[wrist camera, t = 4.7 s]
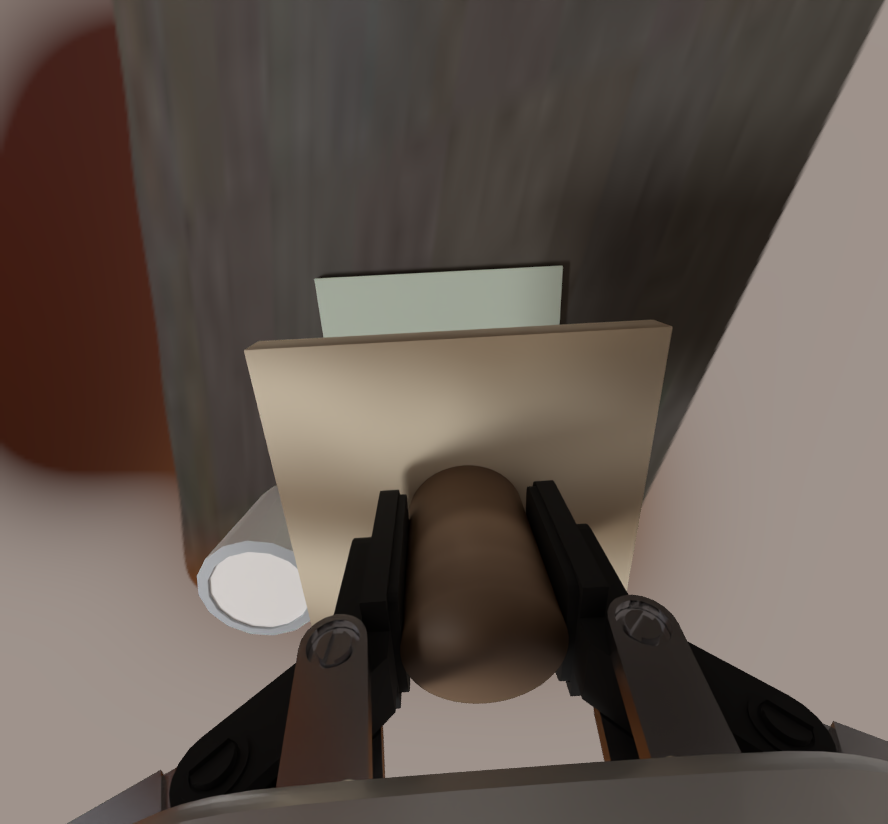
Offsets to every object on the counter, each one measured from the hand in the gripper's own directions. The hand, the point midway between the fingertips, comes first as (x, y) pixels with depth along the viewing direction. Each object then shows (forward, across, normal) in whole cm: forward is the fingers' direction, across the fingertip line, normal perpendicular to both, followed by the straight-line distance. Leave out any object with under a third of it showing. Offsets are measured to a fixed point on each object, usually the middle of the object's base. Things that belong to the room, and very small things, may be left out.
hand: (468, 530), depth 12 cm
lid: (+2, 0, 0) cm, 2 cm away
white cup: (+15, +11, +10) cm, 21 cm away
